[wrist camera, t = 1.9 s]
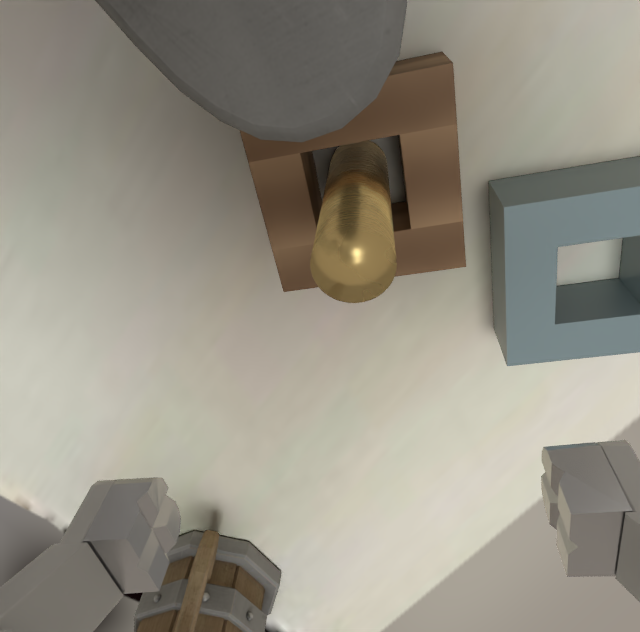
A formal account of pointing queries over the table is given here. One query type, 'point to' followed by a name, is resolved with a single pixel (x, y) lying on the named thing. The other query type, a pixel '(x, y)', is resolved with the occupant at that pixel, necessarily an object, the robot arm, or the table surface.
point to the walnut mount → (418, 170)
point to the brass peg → (355, 226)
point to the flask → (270, 57)
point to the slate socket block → (541, 262)
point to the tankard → (211, 588)
